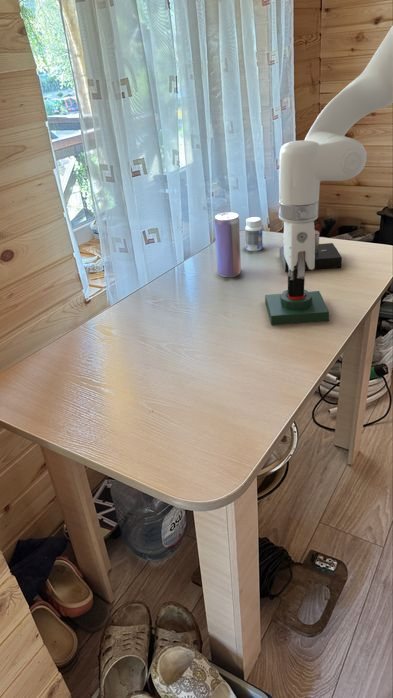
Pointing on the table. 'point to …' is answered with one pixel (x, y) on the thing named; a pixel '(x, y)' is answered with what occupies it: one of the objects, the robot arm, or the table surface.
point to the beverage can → (228, 244)
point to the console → (320, 258)
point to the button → (297, 297)
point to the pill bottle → (253, 234)
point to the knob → (316, 241)
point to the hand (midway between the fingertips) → (295, 294)
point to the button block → (296, 308)
